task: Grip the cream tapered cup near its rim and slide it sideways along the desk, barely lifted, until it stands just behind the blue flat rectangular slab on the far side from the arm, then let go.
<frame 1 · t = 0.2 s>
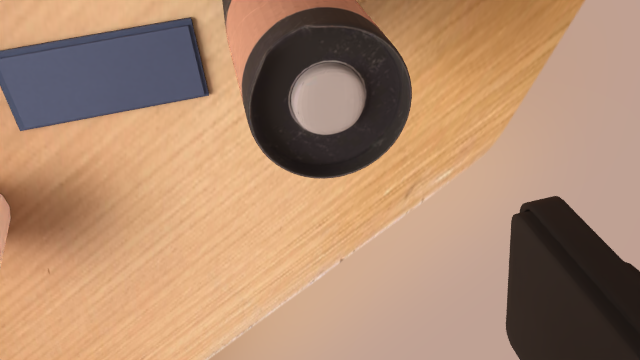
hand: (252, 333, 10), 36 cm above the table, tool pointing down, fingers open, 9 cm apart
blue flat rectangular slab: (104, 74, 44), on the table
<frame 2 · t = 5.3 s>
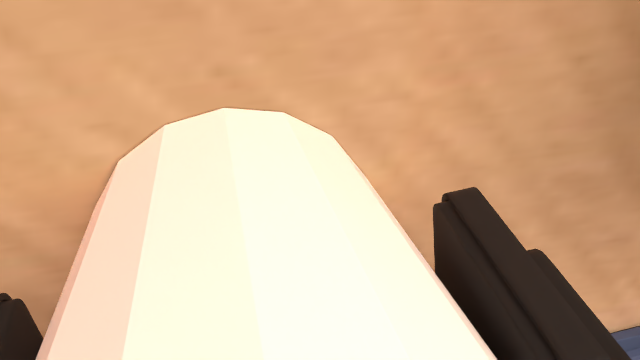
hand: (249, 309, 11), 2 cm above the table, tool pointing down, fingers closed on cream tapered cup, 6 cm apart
cream tapered cup: (237, 227, 13), on the table, touching gripper
when the fingers open (2 cm above the table, at t = 10.2 s): cream tapered cup stays where it is, on the table.
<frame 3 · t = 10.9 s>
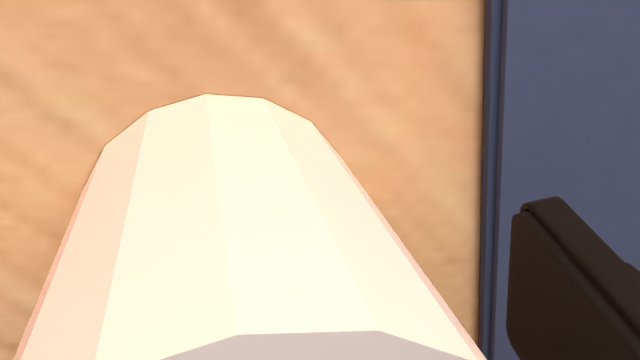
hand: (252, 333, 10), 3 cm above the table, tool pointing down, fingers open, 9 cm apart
blue flat rectangular slab: (605, 127, 14), on the table
cream tapered cup: (221, 211, 13), on the table
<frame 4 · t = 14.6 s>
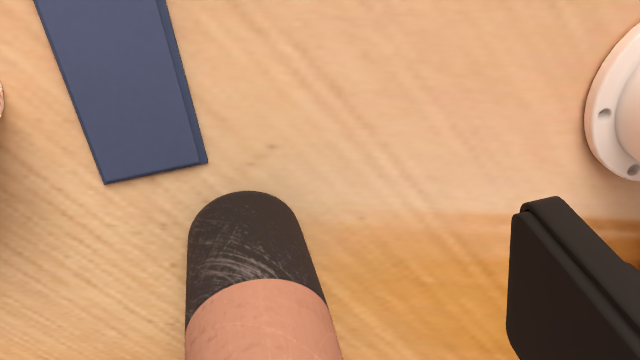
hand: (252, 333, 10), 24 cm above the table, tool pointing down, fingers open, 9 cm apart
travel mug: (244, 235, 39), on the table
blue flat rectangular slab: (119, 57, 32), on the table
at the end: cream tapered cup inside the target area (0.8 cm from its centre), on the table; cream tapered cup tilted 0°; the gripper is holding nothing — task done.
